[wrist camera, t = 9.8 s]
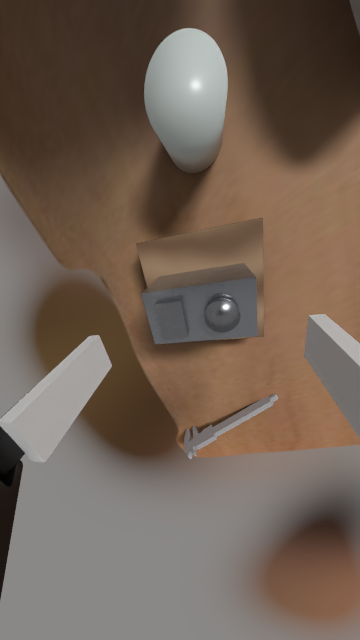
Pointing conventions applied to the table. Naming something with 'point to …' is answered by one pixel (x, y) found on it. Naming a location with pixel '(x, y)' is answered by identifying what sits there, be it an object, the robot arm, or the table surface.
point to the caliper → (223, 426)
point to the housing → (203, 305)
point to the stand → (208, 255)
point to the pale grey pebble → (187, 98)
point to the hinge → (356, 12)
